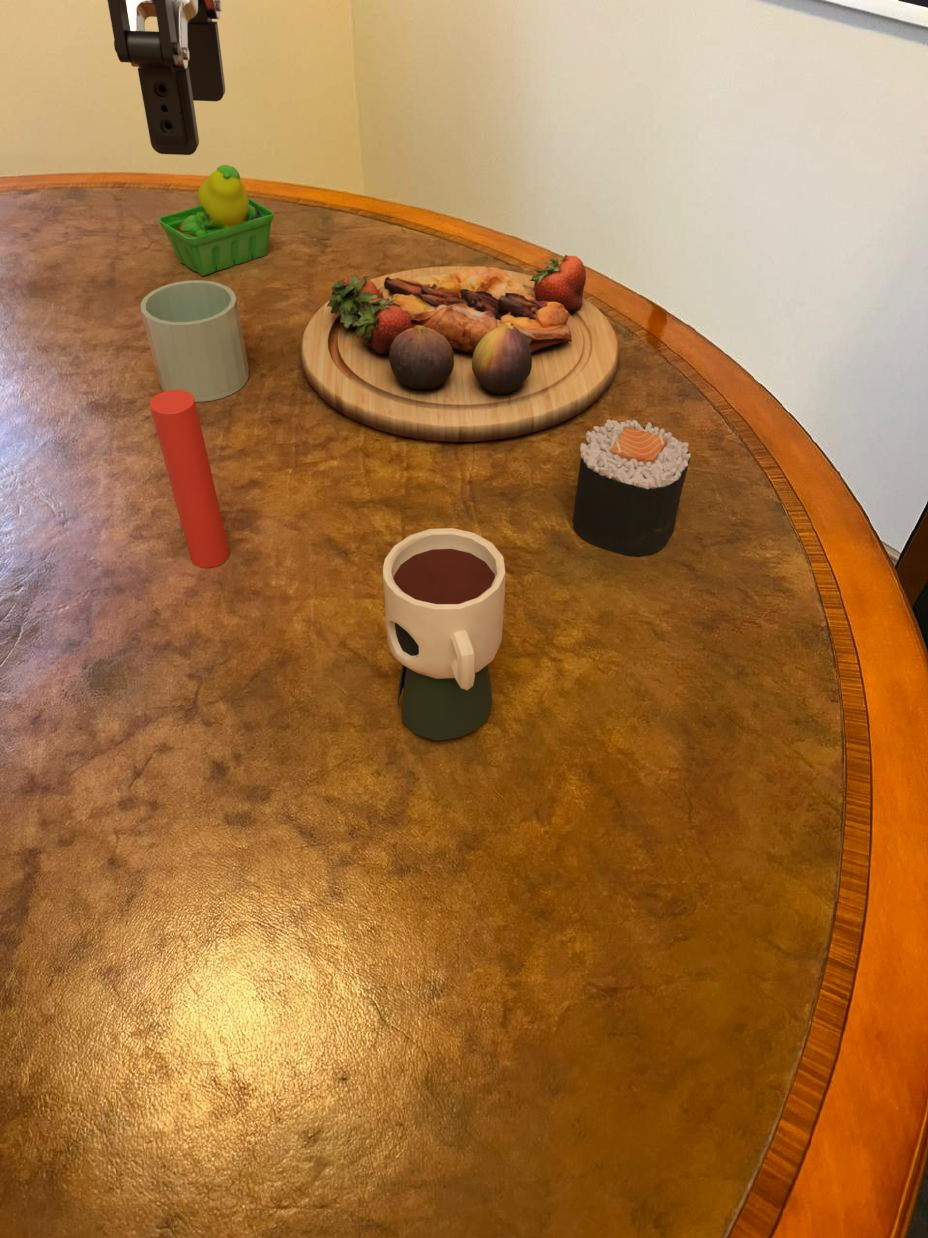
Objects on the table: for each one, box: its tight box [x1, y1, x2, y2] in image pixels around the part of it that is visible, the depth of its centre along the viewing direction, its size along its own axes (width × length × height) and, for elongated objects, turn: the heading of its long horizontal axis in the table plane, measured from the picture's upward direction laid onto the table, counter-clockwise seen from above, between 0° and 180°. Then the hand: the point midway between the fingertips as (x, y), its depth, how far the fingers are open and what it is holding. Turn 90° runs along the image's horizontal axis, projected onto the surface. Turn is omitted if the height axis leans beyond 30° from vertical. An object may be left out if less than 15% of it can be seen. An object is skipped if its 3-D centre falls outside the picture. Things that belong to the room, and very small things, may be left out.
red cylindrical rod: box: [149, 390, 230, 569], centre depth 68 cm, size 3×3×14 cm
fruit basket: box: [157, 164, 275, 277], centre depth 106 cm, size 11×9×11 cm
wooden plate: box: [299, 254, 621, 443], centre depth 92 cm, size 32×32×8 cm
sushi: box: [572, 419, 692, 558], centre depth 74 cm, size 8×8×8 cm
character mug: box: [382, 527, 507, 742], centre depth 58 cm, size 11×7×13 cm, turn 15°
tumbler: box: [139, 279, 250, 403], centre depth 89 cm, size 9×9×8 cm
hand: (192, 123), depth 49 cm, fingers open, 8 cm apart
